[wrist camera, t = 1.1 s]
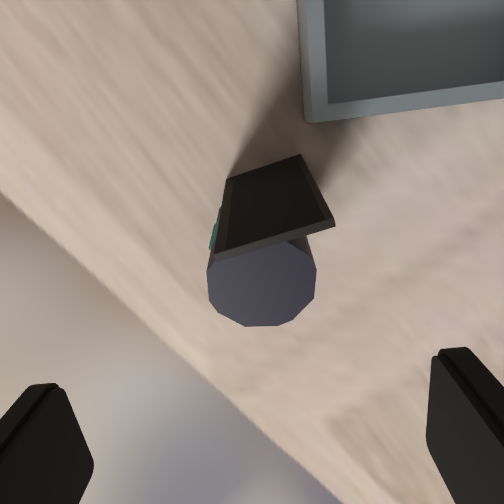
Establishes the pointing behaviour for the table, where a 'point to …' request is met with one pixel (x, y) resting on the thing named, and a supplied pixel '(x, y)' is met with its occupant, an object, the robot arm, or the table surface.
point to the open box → (398, 55)
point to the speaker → (266, 244)
